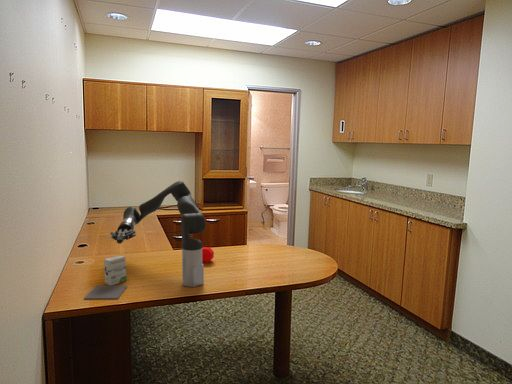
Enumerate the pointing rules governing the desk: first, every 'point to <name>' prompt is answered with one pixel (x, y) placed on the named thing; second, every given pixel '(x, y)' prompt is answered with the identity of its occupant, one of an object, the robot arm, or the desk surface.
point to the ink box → (115, 270)
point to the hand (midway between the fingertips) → (119, 241)
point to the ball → (207, 254)
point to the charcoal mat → (105, 292)
